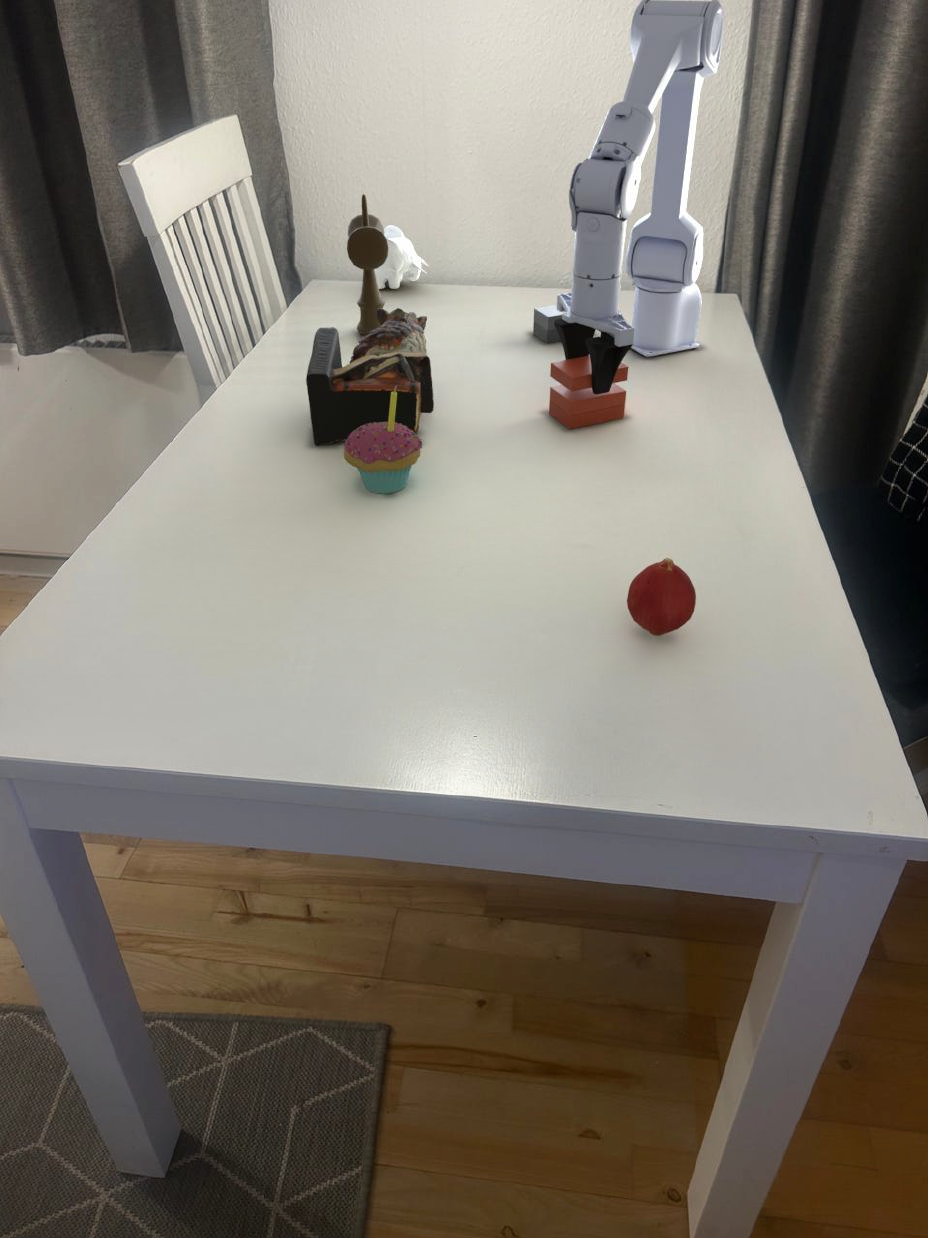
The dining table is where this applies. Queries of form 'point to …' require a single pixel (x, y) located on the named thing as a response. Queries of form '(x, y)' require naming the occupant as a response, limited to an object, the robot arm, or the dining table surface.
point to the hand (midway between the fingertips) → (588, 383)
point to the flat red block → (580, 373)
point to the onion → (661, 598)
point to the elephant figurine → (398, 260)
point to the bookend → (370, 377)
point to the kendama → (367, 263)
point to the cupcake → (383, 452)
